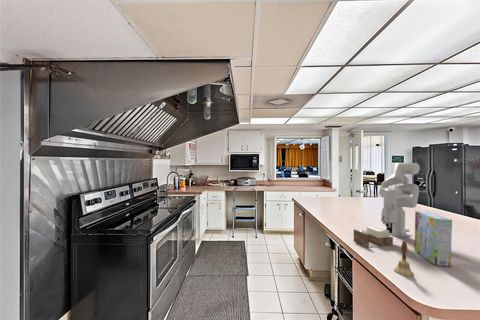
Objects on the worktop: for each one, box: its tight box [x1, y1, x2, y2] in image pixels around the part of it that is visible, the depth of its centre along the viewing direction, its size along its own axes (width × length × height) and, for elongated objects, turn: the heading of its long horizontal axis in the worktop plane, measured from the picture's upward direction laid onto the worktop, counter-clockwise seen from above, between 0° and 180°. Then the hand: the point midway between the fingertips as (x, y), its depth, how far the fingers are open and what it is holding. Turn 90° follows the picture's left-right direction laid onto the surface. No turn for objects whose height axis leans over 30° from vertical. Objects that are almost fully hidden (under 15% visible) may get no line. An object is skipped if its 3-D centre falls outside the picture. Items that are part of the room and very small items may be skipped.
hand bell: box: [393, 240, 415, 277], centre depth 119 cm, size 8×8×16 cm
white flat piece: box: [356, 229, 367, 233], centre depth 180 cm, size 7×7×3 cm
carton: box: [366, 226, 390, 238], centre depth 162 cm, size 9×10×4 cm
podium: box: [353, 229, 394, 248], centre depth 161 cm, size 21×13×8 cm, turn 104°
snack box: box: [413, 210, 453, 268], centre depth 136 cm, size 22×9×26 cm, turn 168°
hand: (389, 232), depth 165 cm, fingers closed
